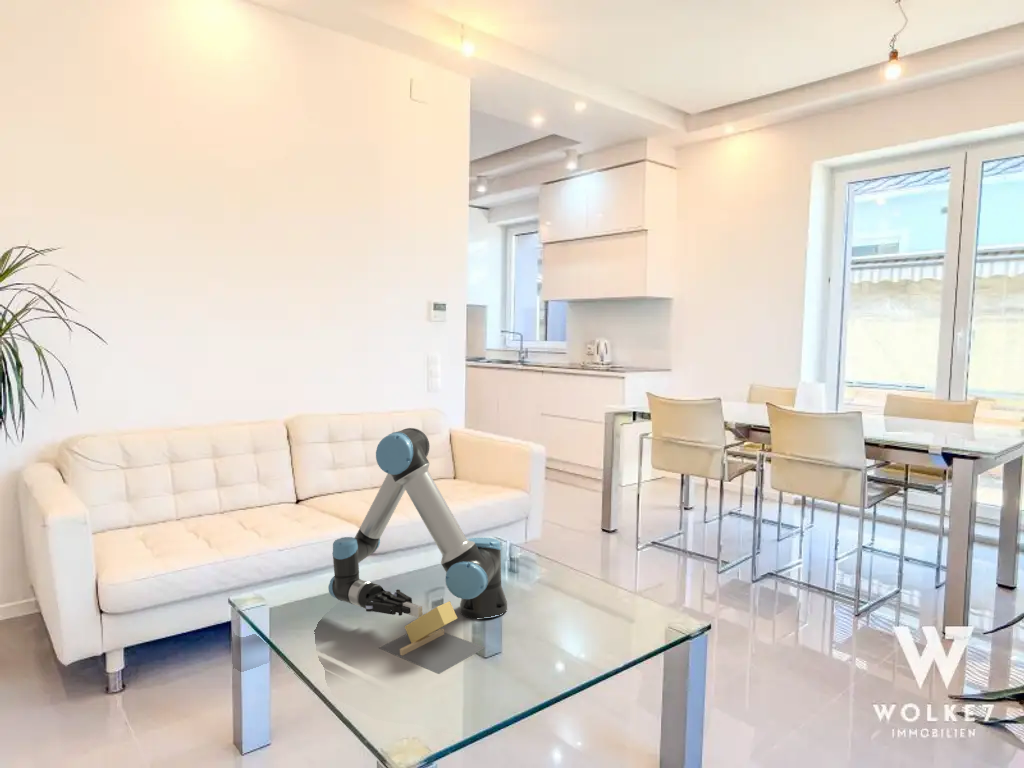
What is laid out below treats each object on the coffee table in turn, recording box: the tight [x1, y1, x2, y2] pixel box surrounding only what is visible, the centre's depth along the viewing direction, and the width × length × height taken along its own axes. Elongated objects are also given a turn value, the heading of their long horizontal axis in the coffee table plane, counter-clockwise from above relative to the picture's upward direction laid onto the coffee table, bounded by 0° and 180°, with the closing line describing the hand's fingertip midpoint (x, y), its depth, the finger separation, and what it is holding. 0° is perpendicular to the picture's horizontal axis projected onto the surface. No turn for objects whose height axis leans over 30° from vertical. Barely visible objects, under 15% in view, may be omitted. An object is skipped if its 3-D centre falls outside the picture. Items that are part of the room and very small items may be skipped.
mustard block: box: [404, 601, 458, 643], centre depth 181 cm, size 5×5×16 cm
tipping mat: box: [378, 628, 486, 674], centre depth 181 cm, size 24×18×2 cm
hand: (420, 611), depth 183 cm, fingers closed
